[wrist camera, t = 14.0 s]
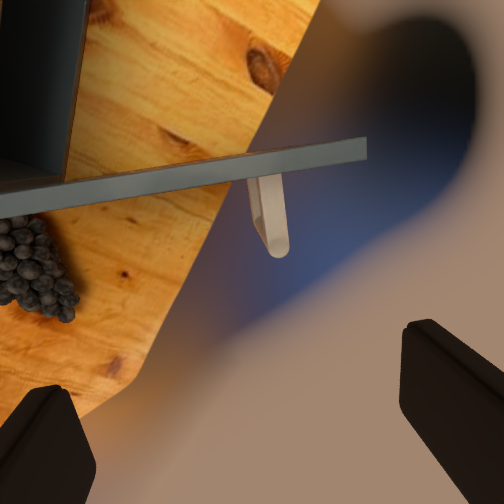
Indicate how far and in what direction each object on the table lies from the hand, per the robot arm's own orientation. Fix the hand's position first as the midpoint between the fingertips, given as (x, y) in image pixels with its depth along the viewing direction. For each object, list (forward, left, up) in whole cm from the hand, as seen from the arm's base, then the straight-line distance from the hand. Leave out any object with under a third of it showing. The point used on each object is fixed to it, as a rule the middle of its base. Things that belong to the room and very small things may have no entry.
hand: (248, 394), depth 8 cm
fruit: (-13, +19, -31) cm, 39 cm away
